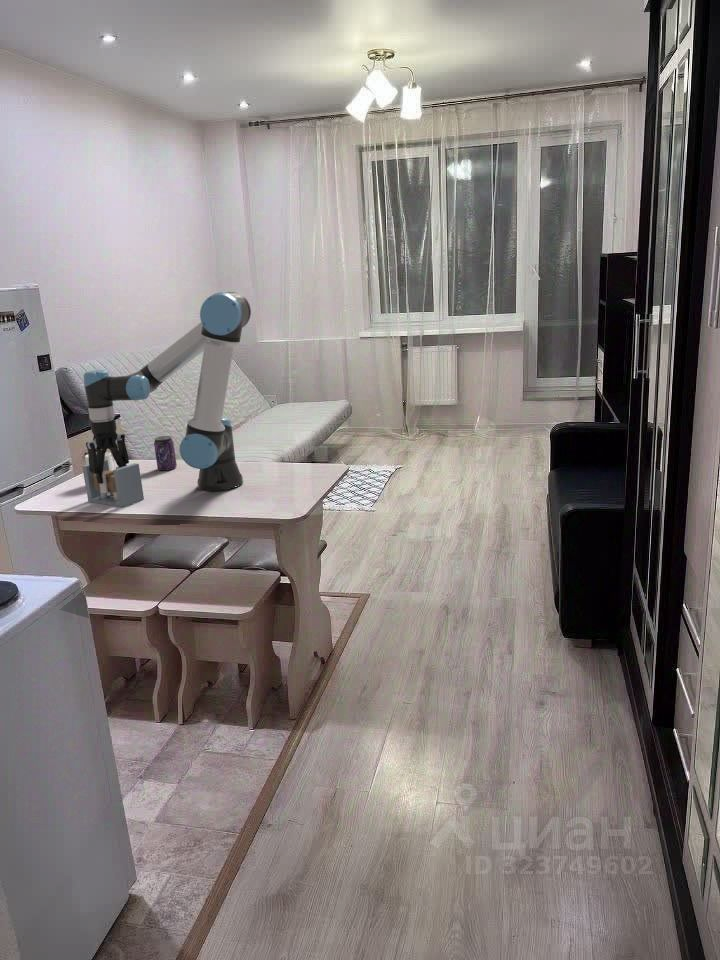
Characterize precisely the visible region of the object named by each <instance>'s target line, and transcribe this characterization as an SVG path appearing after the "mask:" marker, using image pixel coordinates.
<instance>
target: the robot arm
mask: <svg viewBox="0 0 720 960" xmlns="http://www.w3.org/2000/svg"><path fill="white" fill-rule="evenodd" d="M251 316H252V308H251V305H250V303H249V301H248V299H247V298H246V297H245V296H244V295H242V294H241V293H238V292H235V291H227V292H222V291H221V292H217V293H214V294H212V295H210V296H209V297H207V298H206V299H205V300H204V302H202V304H201V307H200V311H199V318H200V322H199V323H198V324H196V325H195V326H194V327H193V328H191V329H190V330H189V331H188V332H187V333H185V334H184V335H183V336H182V337H180V338H179V339H177V340H176V341H175V342H174V343H173V344H171V345H170V346H169V347H168V348H166V349H164V351H162V352H161V353H160V354H158V355H157V356H156V357H154V358H153V359H151V361H150V362H148V363H147V364H146V365H145V366H143V367H142V368H141V369H139V370H138V371H136V372H134V373H130V374H128V375H123V376H122V375H121V376H110V374H109V371H108V370H107V369H106V370H105V369H96V370H88V371H86V372H84V373H83V383H84V386H83V388H84V391H85V396H86V402H87V410H88V417H89V420H90V421H91V422H90V428H91V434H93V438H92V440H91V441H90V442H89V441H88V442H86V443H85V446H86V448H87V455H88V457H89V469H90V473H95V474H96V477H97V482H98V483H99V485H100V491H101V493H108V488H107V482H106V475H105V473H103V466H104V458H105V453H106V452H107V450H109V451H110V453H111V456H112V458H113V459H114V462H115V465H116V466H115V469H118V468H121V467H124V466H127V465H129V464H130V459H129V455H128V454H129V453H128V451H127V445H126V442H125V441H126V435H125V434H124V433H123V434H122V433H117V422H116V419H115V417H116V415H115V409H114V408H115V407H114V402H116V401H140V400H142V401H143V400H147V399H148V398H149V396H150V393H152V392H155V391H156V390H157V389H159V387H160V385H162V383H164V382H165V381H166V380H168V379H170V377H171V376H173V375H175V374H176V373H177V372H178V371H179V370H181V369H182V368H183V367H185V366H186V365H188V363H190V362H191V361H192V360H195V358H197V357H198V356H199V355H200V354H202V360H201V367H200V373H199V378H198V387H197V394H196V398H195V405H194V410H193V411H194V412H193V417H192V418H190V419H189V420H187V423H186V424H187V425H186V431H185V436H184V437H183V438H182V440H181V442H180V444H179V454H180V457H181V459H182V460H183V462H184V463H185V464H186V465H187V466H189V467H191V468H193V469H198V470H199V472H198V478H197V482H196V483H197V489H199V490H200V491H205V492H220V491H222V490H223V491H227V490H226V489H229V488H233V487H235V486H238V485H240V484H242V483H243V484H244V478H243V474H242V473H241V472H240V469H239V466H238V463H237V461H236V455H235V454H236V453H235V444H234V437H233V426H232V421H231V419H230V418H228V417H223V413H224V407H225V403H226V396H227V395H226V394H227V389H228V384H229V376H230V371H231V366H232V365H231V364H232V360H233V354H234V347H235V346H236V345H239V344H240V343H241V337H242V330H243V328H244V327H245V326H247V324H248V323H249V322H250V319H251ZM96 452H97V455H96ZM243 484H242V485H243ZM240 486H241V485H240ZM238 487H239V486H238ZM233 489H234V488H233ZM229 490H230V489H229Z"/></svg>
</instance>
